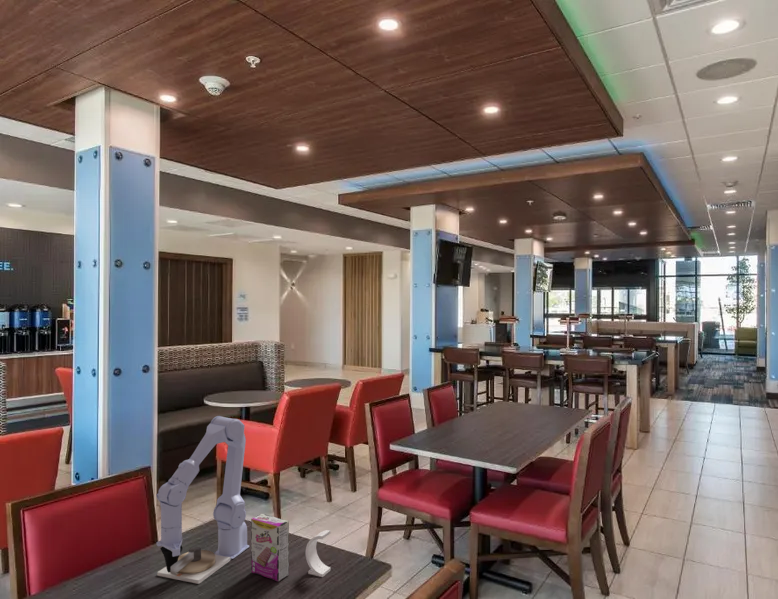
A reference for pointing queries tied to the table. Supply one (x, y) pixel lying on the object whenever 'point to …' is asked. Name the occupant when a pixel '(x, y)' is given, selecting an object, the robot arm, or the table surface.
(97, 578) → the table surface
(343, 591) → the table surface
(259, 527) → the candy bar box
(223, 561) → the base plate
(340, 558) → the table surface
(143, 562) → the table surface
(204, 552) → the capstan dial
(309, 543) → the headphone stand
